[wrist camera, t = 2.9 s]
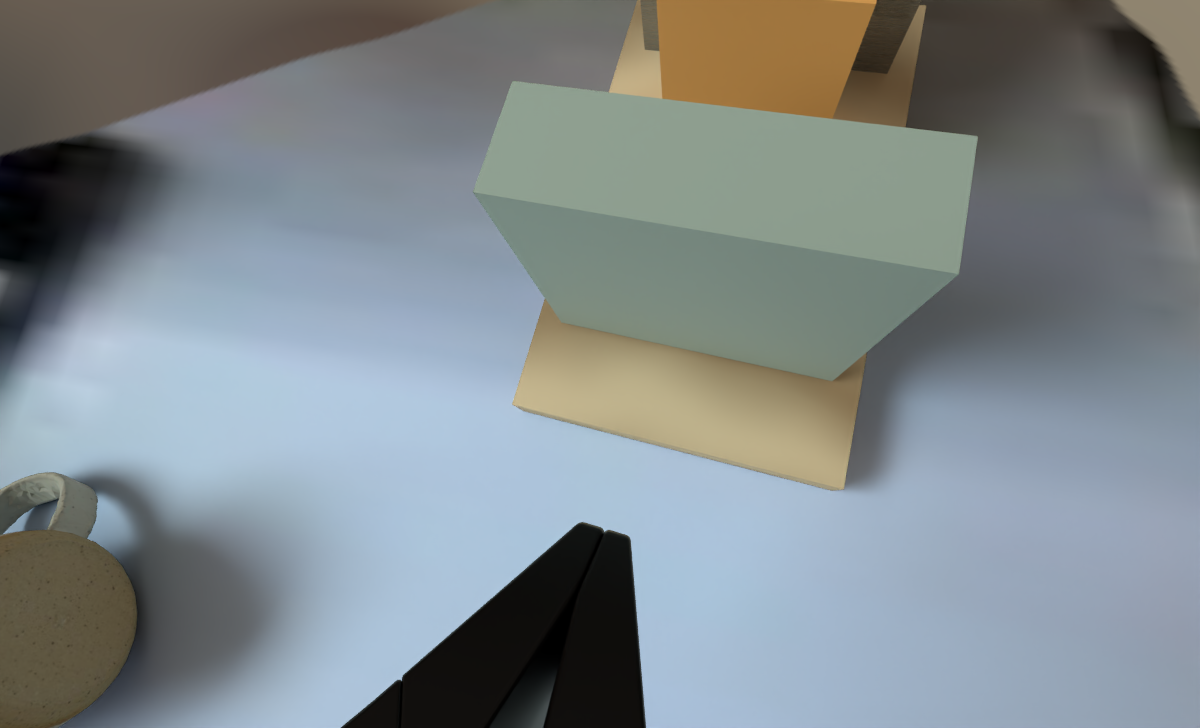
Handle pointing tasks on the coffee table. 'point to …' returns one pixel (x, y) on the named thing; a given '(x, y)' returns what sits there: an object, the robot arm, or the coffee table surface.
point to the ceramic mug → (58, 606)
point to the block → (760, 52)
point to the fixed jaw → (876, 46)
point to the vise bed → (701, 381)
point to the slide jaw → (726, 222)
